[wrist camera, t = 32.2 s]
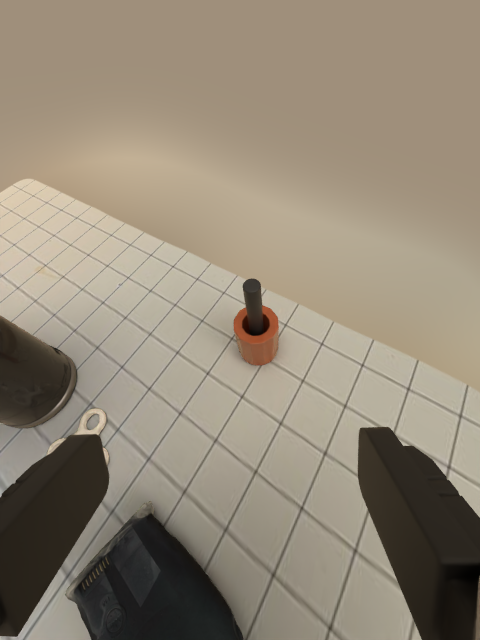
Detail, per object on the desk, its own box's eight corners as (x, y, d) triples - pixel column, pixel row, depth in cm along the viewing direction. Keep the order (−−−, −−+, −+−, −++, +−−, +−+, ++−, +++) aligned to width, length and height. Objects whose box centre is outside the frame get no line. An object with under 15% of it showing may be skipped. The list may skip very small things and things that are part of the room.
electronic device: (82, 594, 25) (181, 837, 17) (43, 598, 21) (149, 921, 13) (166, 505, 29) (279, 669, 21) (147, 494, 25) (278, 694, 17)
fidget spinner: (44, 464, 30) (39, 464, 29) (74, 403, 33) (70, 402, 32) (102, 480, 28) (98, 480, 27) (128, 415, 31) (124, 413, 31)
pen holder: (239, 366, 33) (233, 344, 28) (239, 332, 35) (233, 306, 30) (278, 364, 33) (279, 342, 27) (276, 330, 35) (276, 303, 30)
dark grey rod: (252, 352, 33) (242, 293, 23) (252, 341, 34) (242, 278, 24) (265, 351, 33) (261, 292, 23) (264, 340, 34) (260, 277, 24)
